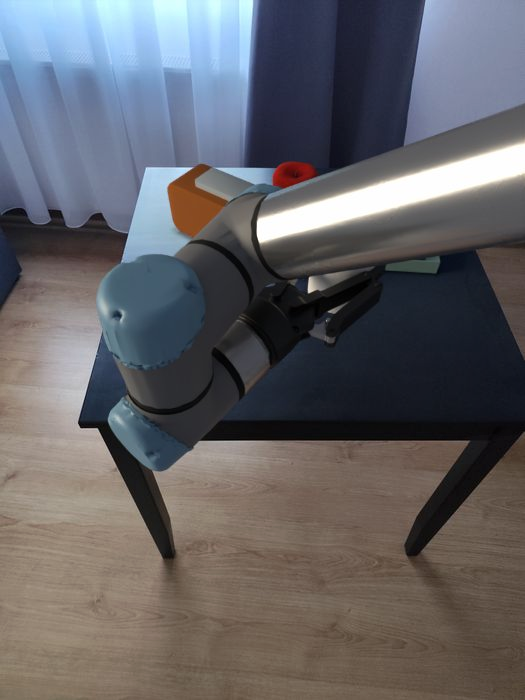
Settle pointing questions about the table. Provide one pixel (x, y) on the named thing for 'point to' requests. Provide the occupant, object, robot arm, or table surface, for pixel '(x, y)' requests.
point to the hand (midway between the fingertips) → (366, 236)
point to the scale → (416, 265)
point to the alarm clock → (201, 196)
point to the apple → (293, 174)
